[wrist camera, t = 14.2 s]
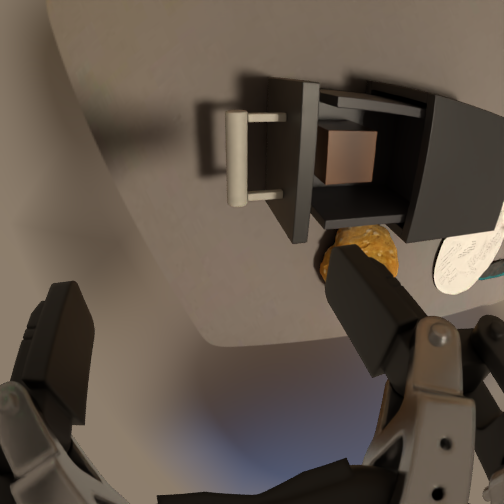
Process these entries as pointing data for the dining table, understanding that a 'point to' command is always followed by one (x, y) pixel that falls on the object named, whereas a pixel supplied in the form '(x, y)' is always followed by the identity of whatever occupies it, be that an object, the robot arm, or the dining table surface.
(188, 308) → the dining table surface
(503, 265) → the knife
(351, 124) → the block
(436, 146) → the cabinet
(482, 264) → the plaque
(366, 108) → the drawer
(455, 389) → the robot arm
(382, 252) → the bagel
